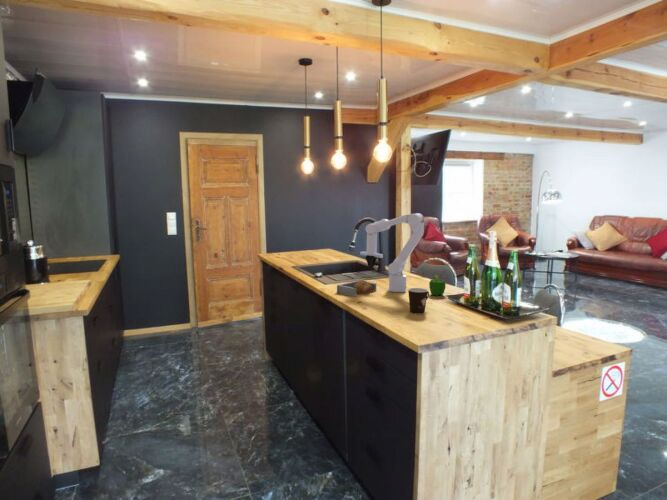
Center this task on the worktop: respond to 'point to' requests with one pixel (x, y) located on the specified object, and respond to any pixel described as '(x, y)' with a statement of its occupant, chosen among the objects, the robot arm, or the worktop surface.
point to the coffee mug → (417, 299)
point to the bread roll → (363, 287)
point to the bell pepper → (437, 286)
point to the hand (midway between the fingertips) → (370, 269)
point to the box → (351, 288)
